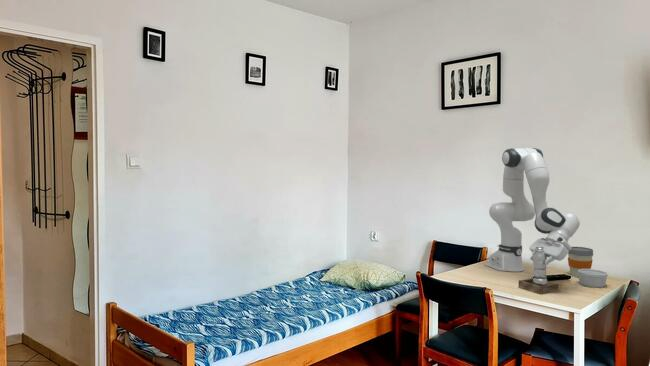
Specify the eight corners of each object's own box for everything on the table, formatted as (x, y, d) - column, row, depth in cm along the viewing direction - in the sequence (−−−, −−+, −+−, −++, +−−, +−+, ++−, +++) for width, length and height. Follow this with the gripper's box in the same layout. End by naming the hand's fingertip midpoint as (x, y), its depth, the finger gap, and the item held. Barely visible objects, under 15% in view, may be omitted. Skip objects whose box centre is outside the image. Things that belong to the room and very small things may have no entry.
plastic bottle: (548, 289, 224) (548, 248, 224) (533, 289, 226) (532, 248, 226) (547, 286, 230) (546, 246, 230) (532, 286, 233) (531, 246, 232)
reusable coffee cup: (577, 279, 250) (578, 251, 249) (561, 273, 262) (562, 246, 261) (598, 278, 252) (599, 250, 251) (581, 272, 264) (581, 246, 263)
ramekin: (583, 280, 248) (583, 267, 248) (610, 285, 238) (611, 271, 238) (573, 284, 239) (573, 271, 239) (601, 290, 229) (602, 276, 229)
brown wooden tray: (518, 287, 233) (518, 280, 233) (536, 284, 239) (536, 277, 239) (540, 294, 222) (540, 287, 221) (559, 291, 227) (559, 284, 227)
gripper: (536, 233, 241) (520, 253, 239) (567, 240, 221) (549, 262, 219) (543, 241, 242) (527, 261, 240) (574, 249, 222) (557, 270, 220)
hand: (538, 261), depth 229 cm, fingers open, 8 cm apart
